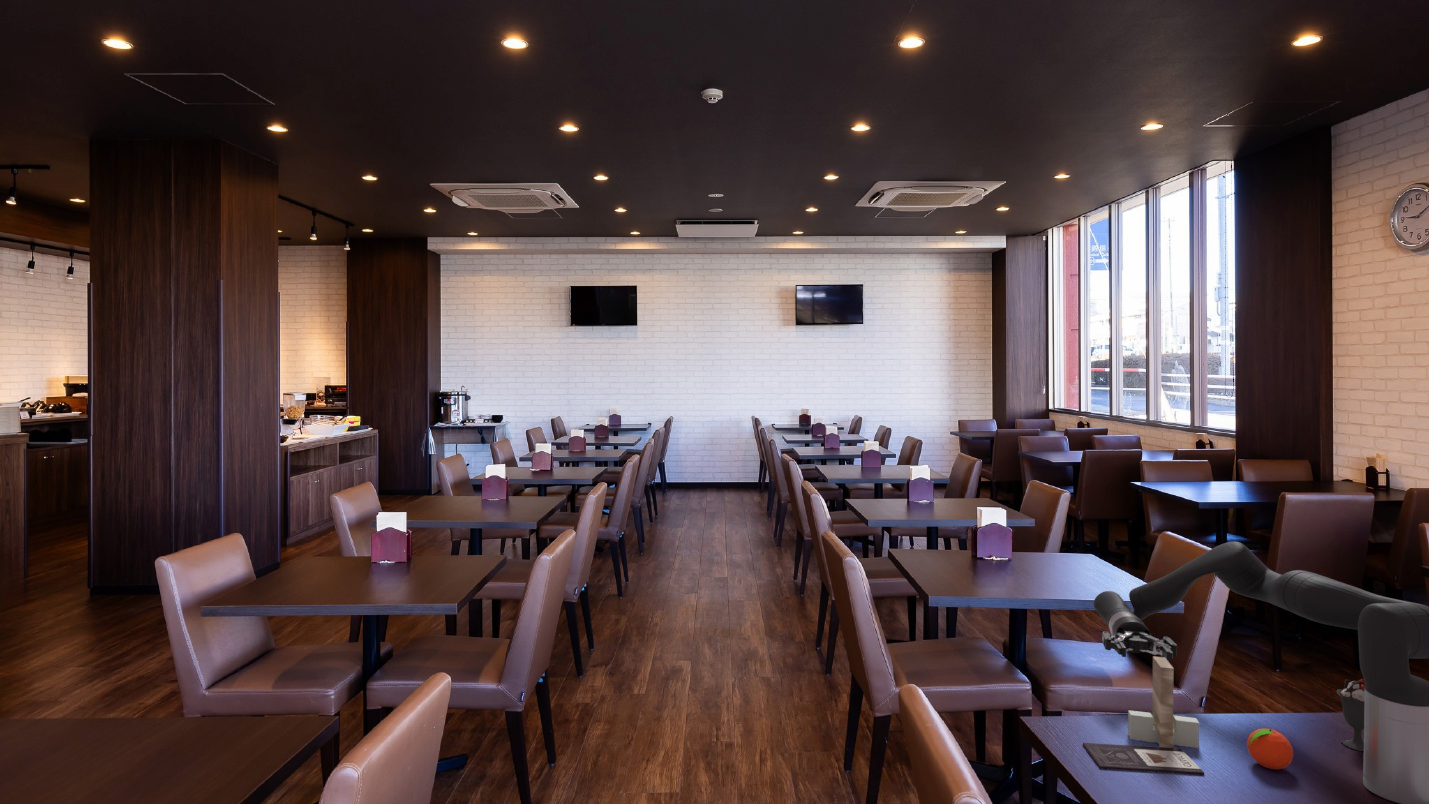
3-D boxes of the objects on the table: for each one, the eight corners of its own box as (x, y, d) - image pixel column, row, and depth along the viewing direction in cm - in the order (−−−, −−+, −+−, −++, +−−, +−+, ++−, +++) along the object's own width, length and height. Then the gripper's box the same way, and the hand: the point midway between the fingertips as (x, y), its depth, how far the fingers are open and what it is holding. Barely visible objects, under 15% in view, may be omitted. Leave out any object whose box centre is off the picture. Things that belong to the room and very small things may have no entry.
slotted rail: (1195, 742, 147) (1195, 718, 147) (1199, 748, 145) (1199, 723, 144) (1128, 734, 150) (1128, 710, 150) (1130, 739, 148) (1130, 714, 148)
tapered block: (1163, 733, 150) (1164, 656, 150) (1173, 750, 144) (1174, 669, 143) (1151, 732, 151) (1152, 655, 151) (1160, 748, 145) (1161, 668, 144)
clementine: (1266, 779, 133) (1267, 740, 133) (1232, 760, 140) (1233, 723, 140) (1303, 774, 135) (1303, 736, 135) (1267, 755, 142) (1268, 719, 141)
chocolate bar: (1082, 742, 146) (1180, 748, 144) (1082, 747, 146) (1180, 753, 144) (1100, 766, 137) (1204, 772, 135) (1100, 771, 137) (1204, 777, 135)
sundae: (1377, 758, 140) (1379, 680, 140) (1332, 745, 145) (1333, 670, 145) (1383, 747, 145) (1384, 671, 144) (1339, 734, 150) (1340, 662, 149)
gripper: (1163, 650, 173) (1183, 675, 158) (1095, 644, 177) (1109, 668, 162) (1163, 618, 173) (1183, 640, 157) (1096, 613, 177) (1109, 634, 162)
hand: (1146, 654), depth 160 cm, fingers open, 8 cm apart
